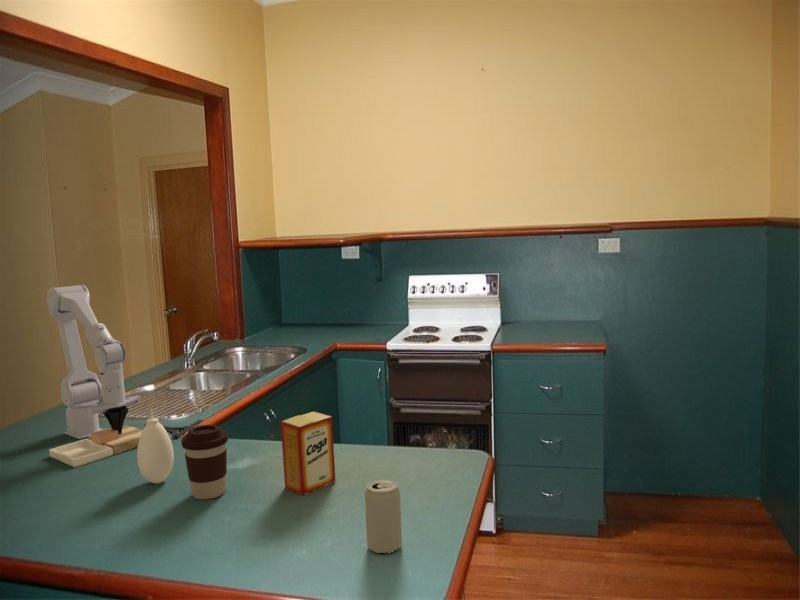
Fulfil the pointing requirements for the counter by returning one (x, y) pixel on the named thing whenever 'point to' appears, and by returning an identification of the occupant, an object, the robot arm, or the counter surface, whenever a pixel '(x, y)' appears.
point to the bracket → (184, 429)
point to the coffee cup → (206, 460)
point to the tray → (81, 452)
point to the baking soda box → (308, 452)
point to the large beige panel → (124, 439)
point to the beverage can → (383, 516)
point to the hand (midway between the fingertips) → (117, 433)
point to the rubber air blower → (155, 452)
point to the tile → (104, 435)
